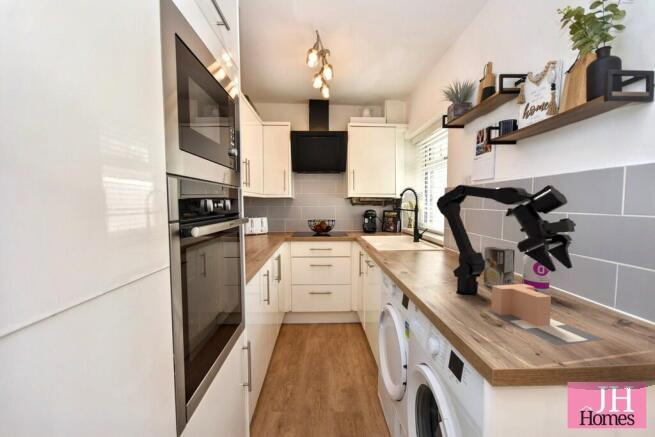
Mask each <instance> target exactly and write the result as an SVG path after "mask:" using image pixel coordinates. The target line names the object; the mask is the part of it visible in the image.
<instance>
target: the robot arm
mask: <svg viewBox="0 0 655 437" xmlns="http://www.w3.org/2000/svg"><path fill="white" fill-rule="evenodd" d="M468 196H469V197H476V198H483V199H488V200H493V201H495V202H497V203H500V204H504V205H507V206H515V207H513V208H512V207H509V208H507V212H506V213H505V216H506V217H515V220H516V221H517V222H518V224H519V225H520V227H521V228H520V229H519V231H520V233H525V235H526V236H527V238H525V239H522V240H520V241H518V242H517V245H516V247H517V248H516V249H518V251H519V252H520V253H523V254H524V256H525V255H528V256H529V257H531V258H532V259H534V260H535V261H537V262H538V263H540V264H541V265H543V266H544V267H546V268H547V269H548V270H550V273H553V272H556V271H557V269H556V266H555V264H554V262H553V260H552V258H551V256H552V257H554V259H556V260H557V262H559V263H561V265H562V266H564V267H565V268H566V269H569V270H570V269H572V268H573V265H572V261H571V257H570V255H569V254H570V253H569V251H568V250H569V247H570V245H571V244H572V241H573V239H572V237H571V236H570V235H569V234H568V233H572V232H573V233H574V232H576V230H575V227H576V225H577V224H576V223H575V222H574V220H573V219H572V220H571V219H570V218H569V217H566V218H560V219H559V221H555V222H554V221H553V222H550V221H549V220H546V219H543V218H542V216H541V215H540V214H541V213H542V214H544V215H547V214H549V213H551V212H553V211H555V210H557V209H559V208H561V207H563V206H565V205H567V204H568V200H567V198H566V196H565V195H564V193H561V191H559V190H558V189H557V188H555V187H554V186H553V185H552V184H551V185H549V184H548V185H545V187H543V188H542V189H540V190H539V191H537V192H536V193H534V194H533V193H529V192H527V190H526V189H525V188H524V187H514V186H513V187H512V186H504V187H483V186H475V185H469V184H459V185H457V186H456V187H454V188H453V189H452V190H450V191H448V192H446V193H444V194H443V195H442V196H439V198H438V199H437V201H436V207H437V209H438V210H439V212H440V214H441V215H443V216H444V218H445V219H446V220H447V222H448V225H449V228H450V231H451V233H452V236H453V239H454V241H455V244H456V246H457V249H458V252H459V254H458V260H457V261H458V264H459V266H457V267H456V268H455V269H454V270H453V275H454V277H456V278H457V282H456V284H457V285H456V291H455V293H456V294H460V295H466V296H473V297H474V296H476V295H477V294H479V281H478V280H477V278H480V277H481V275H482V273H484V269H485V264H484V263H486V262H485V261H484V256H483V253H482V252H480V251H479V252H476V250H474V248H473V246H472V245H473V244H472V243H471V240H470V238H469V235H468V232H467V231H466V230H467V229H466V227H465V224H464V223H463V221H462V217H461V215H460V213H461V204H462V203H463V202H465V200H466V198H467V197H468ZM524 203H525V204H524Z"/></svg>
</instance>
